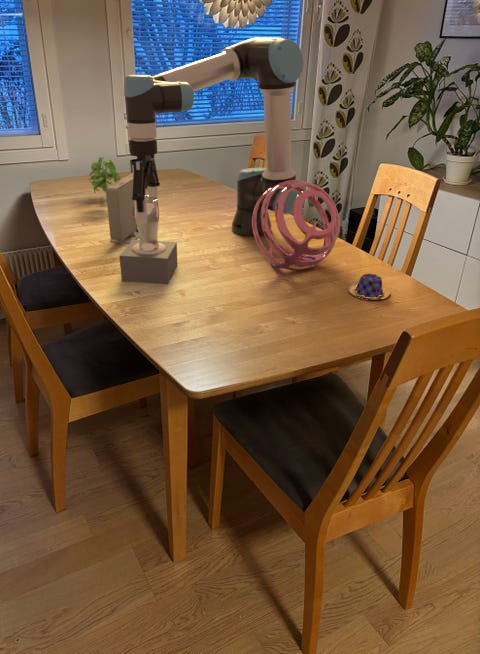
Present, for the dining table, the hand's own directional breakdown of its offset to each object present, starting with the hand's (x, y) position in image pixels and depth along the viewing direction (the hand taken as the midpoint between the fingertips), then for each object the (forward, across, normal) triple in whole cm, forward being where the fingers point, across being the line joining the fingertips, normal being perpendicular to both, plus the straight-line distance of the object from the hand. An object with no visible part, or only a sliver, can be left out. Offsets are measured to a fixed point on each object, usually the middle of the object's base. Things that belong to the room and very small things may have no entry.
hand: (148, 215), depth 149 cm
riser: (+18, 0, 0) cm, 18 cm away
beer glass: (+10, +2, 0) cm, 10 cm away
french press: (+19, -104, -30) cm, 111 cm away
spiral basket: (+19, -12, +44) cm, 49 cm away
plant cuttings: (+19, -73, -34) cm, 82 cm away
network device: (+19, -34, -16) cm, 42 cm away
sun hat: (+19, +4, +66) cm, 68 cm away
